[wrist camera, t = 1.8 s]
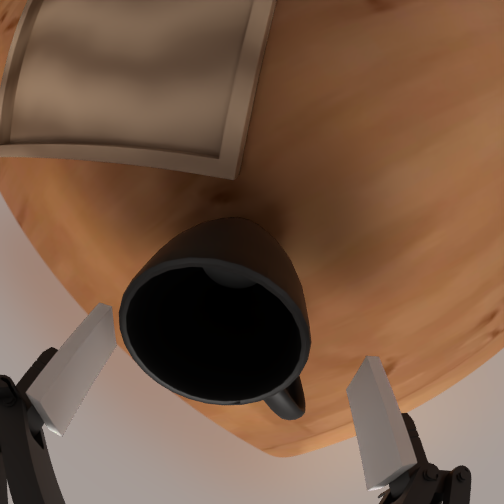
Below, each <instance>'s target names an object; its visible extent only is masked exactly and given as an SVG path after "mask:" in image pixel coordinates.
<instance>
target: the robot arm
mask: <svg viewBox="0 0 504 504" xmlns="http://www.w3.org/2000/svg"><path fill="white" fill-rule="evenodd" d="M116 346H117V345H116V338H115V330H114V322H113V313H112V306H109V305H105V304H102V303H99V304H98V305H97V306H96V307H95V308H94V309H93V310H92V311H91V313H90V314H89V315H88V316H87V317H86V318H85V319H84V321H83V322H82V323H81V324H80V325H79V327H77V329H76V330H75V331H74V332H73V333H72V334H71V336H70V337H69V338H68V339H67V340H66V342H65V343H64V344H63V345H62V346H61V348H60V349H59V350H57V349H55V348H53V347H51V348H49V349H47V350H46V351H44V352H43V353H42V354H41V355H40V356H39V358H38V359H37V361H35V362H34V364H33V365H32V367H30V369H29V370H28V371H27V372H26V373H25V375H24V376H23V377H22V379H21V380H20V381H19V382H18V384H17V385H16V386H15V384H14V382H13V381H12V379H11V378H10V377H8V376H6V375H0V504H8V497H7V481H8V485H9V488H10V493H11V496H12V500H13V503H14V504H65V501H64V499H63V496H62V494H61V491H60V489H59V485H58V483H57V480H56V477H55V474H54V471H53V467H52V464H51V461H50V457H49V453H48V449H47V445H46V441H45V437H44V432H43V429H42V426H43V424H44V423H45V425H46V426H47V427H48V429H49V430H51V431H53V432H54V433H56V434H58V435H60V436H63V435H64V433H65V431H66V429H67V427H68V426H69V424H70V422H71V420H72V418H73V417H74V415H75V413H76V411H77V409H78V408H79V406H80V404H81V403H82V401H83V399H84V398H85V396H86V394H87V393H88V391H89V389H90V387H91V386H92V384H93V383H94V381H95V379H96V378H97V376H98V375H99V373H100V371H101V370H102V368H103V367H104V365H105V363H106V362H107V360H108V359H109V357H110V356H111V354H112V352H113V351H114V349H115V348H116ZM346 391H347V395H348V399H349V404H350V408H351V412H352V417H353V421H354V425H355V430H356V435H357V439H358V444H359V449H360V454H361V458H362V464H363V470H364V475H365V481H366V486H367V491H370V490H375V489H381V488H383V487H384V486H386V485H388V484H389V487H390V488H389V489H388V490H386V491H385V492H383V493H381V494H380V495H379V496H378V498H380V497H382V496H383V498H382V500H381V501H380V503H379V504H442V501H443V504H469V502H470V491H471V473H470V470H469V469H468V468H467V467H465V466H463V465H462V466H458V467H456V468H455V469H453V470H452V471H444V470H439V469H438V468H437V466H435V465H434V464H431V463H428V461H427V458H426V455H425V452H424V449H423V446H422V443H421V440H420V438H419V437H418V436H419V435H418V432H417V431H416V427H415V424H414V421H413V420H412V418H411V417H410V416H409V415H408V413H401V412H400V409H399V407H398V404H397V401H396V399H395V396H394V393H393V391H392V388H391V386H390V383H389V381H388V378H387V376H386V373H385V371H384V368H383V366H382V363H381V361H380V359H379V357H376V356H366V358H365V359H364V361H363V363H362V365H361V366H360V368H359V370H358V371H357V373H356V375H355V376H354V378H353V380H352V381H351V383H350V384H349V386H348V388H347V389H346Z"/></svg>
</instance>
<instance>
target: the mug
mask: <svg viewBox="0 0 504 504" xmlns="http://www.w3.org/2000/svg"><path fill="white" fill-rule="evenodd" d="M119 325H120V331H121V334H122V338H123V341H124V344H125V346H126V348H127V349H128V351H129V353H130V355H131V356H132V358H133V359H134V361H135V362H136V363H137V364H138V365H139V366H140V368H141V369H142V370H143V371H144V372H145V373H146V374H148V375H149V376H150V377H151V378H152V379H153V380H155V381H156V382H157V383H159V384H160V385H162V386H164V387H165V388H167V389H169V390H170V391H172V392H174V393H176V394H179V395H181V396H183V397H186V398H188V399H192V400H195V401H199V402H203V403H208V404H216V405H243V404H248V403H253V402H258V401H261V400H264V401H265V403H266V404H267V405H268V406H269V407H270V408H271V409H272V411H273V412H274V413H276V414H277V415H278V416H279V417H281V418H282V419H286V420H295V419H298V418H300V417H302V415H303V414H304V413H305V398H304V392H303V388H302V384H301V380H300V376H299V375H300V373H301V371H302V370H303V368H304V366H305V364H306V362H307V360H308V357H309V352H310V347H311V335H310V326H309V320H308V314H307V309H306V303H305V298H304V294H303V289H302V285H301V283H300V281H299V278H298V276H297V273H296V271H295V269H294V267H293V264H292V262H291V260H290V259H289V257H288V255H287V254H286V252H285V251H284V250H283V249H282V247H281V246H280V245H279V243H278V242H277V241H276V240H275V239H274V238H273V237H272V236H271V235H270V234H269V233H267V232H266V231H265V230H264V229H263V228H261V227H260V226H259V225H258V224H256V223H254V222H252V221H250V220H247V219H243V218H222V219H217V220H212V221H207V222H204V223H201V224H199V225H197V226H195V227H193V228H191V229H188V230H186V231H184V232H182V233H180V234H179V235H177V236H176V237H174V238H173V239H172V240H171V241H169V242H168V243H167V244H166V245H165V246H163V247H162V248H161V249H160V250H159V251H158V252H157V253H156V254H155V255H154V256H153V257H152V258H151V259H150V260H149V261H148V262H147V263H146V265H145V266H144V267H143V268H142V269H141V270H140V271H139V272H138V274H137V275H136V276H135V277H134V278H133V279H132V281H131V282H130V284H129V286H128V287H127V289H126V291H125V292H124V294H123V297H122V301H121V306H120V310H119Z"/></svg>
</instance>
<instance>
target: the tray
mask: <svg viewBox="0 0 504 504" xmlns="http://www.w3.org/2000/svg"><path fill="white" fill-rule="evenodd" d="M276 2H277V0H28V1H27V3H26V5H25V7H24V10H23V12H22V15H21V17H20V20H19V23H18V25H17V28H16V31H15V34H14V37H13V40H12V43H11V46H10V50H9V53H8V57H7V61H6V64H5V69H4V73H3V77H2V82H1V87H0V157H35V158H58V159H74V160H87V161H99V162H110V163H120V164H129V165H137V166H146V167H153V168H161V169H168V170H175V171H182V172H188V173H195V174H201V175H207V176H213V177H219V178H224V179H230V180H235V178H236V177H237V176H238V175H239V173H240V168H241V162H242V157H243V152H244V147H245V142H246V137H247V132H248V127H249V122H250V117H251V112H252V108H253V103H254V98H255V93H256V89H257V84H258V79H259V75H260V70H261V66H262V61H263V57H264V52H265V48H266V44H267V39H268V35H269V31H270V27H271V22H272V18H273V14H274V10H275V6H276Z"/></svg>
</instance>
